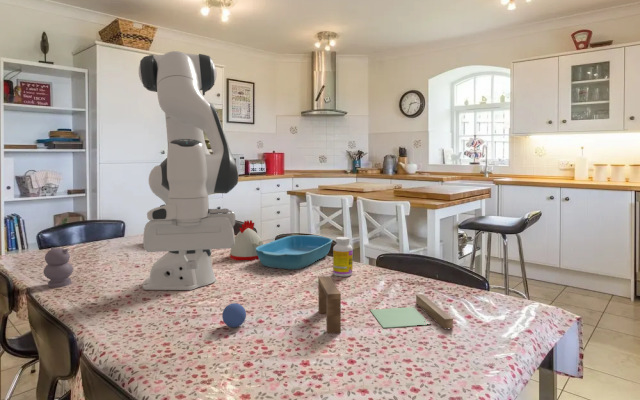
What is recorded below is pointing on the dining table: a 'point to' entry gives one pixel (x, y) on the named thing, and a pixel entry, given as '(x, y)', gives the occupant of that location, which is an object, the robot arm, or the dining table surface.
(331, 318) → the bridge
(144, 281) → the robot arm
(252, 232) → the kitchen timer
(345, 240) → the supplement bottle
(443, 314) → the stopper wall
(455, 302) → the dining table surface
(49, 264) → the cat figurine
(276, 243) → the casserole dish
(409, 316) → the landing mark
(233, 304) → the ball
